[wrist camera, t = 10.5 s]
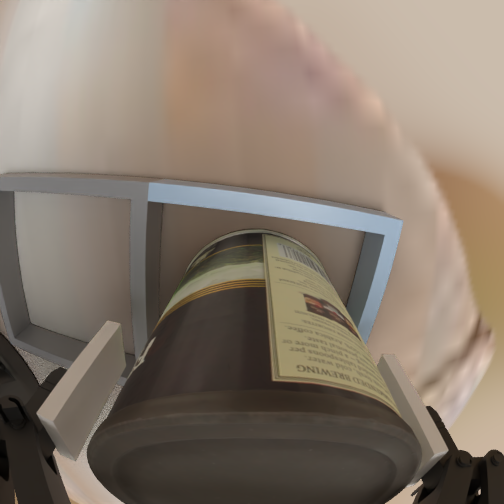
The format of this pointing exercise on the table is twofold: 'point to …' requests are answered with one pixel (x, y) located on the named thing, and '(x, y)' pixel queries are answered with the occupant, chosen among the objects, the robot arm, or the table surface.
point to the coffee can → (255, 392)
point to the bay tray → (149, 238)
